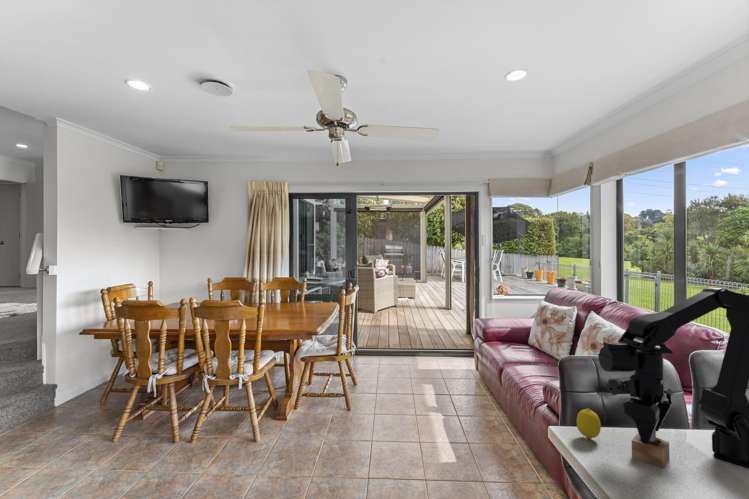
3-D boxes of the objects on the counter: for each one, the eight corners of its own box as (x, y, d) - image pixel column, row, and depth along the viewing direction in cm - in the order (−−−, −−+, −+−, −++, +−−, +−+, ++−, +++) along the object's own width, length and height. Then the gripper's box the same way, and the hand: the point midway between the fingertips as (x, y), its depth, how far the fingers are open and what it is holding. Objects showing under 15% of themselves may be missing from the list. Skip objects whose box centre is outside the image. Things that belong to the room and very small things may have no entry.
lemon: (594, 434, 98) (593, 404, 98) (605, 445, 92) (604, 413, 92) (573, 433, 98) (572, 404, 98) (582, 444, 93) (582, 412, 93)
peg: (657, 457, 86) (656, 424, 86) (655, 461, 85) (654, 427, 85) (646, 454, 88) (645, 421, 88) (643, 457, 86) (642, 423, 86)
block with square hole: (669, 458, 86) (669, 441, 86) (663, 468, 82) (662, 450, 82) (639, 448, 90) (638, 432, 90) (631, 457, 86) (631, 440, 87)
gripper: (621, 357, 99) (623, 414, 98) (596, 371, 87) (598, 436, 86) (673, 366, 90) (675, 429, 90) (653, 383, 78) (655, 456, 78)
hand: (650, 436), depth 86 cm, fingers open, 9 cm apart
